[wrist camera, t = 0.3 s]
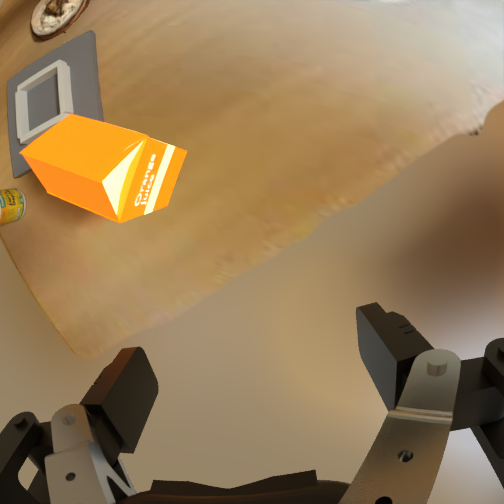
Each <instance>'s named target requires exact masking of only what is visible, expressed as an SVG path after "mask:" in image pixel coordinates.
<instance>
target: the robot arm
mask: <svg viewBox="0 0 504 504" xmlns="http://www.w3.org/2000/svg"><path fill="white" fill-rule="evenodd" d="M356 320H357V332H358V346H359V351H360V355H361V358H362V361H363V363H364V364H365V366H366V368H367V370H368V372H369V374H370V376H371V378H372V380H373V382H374V384H375V386H376V388H377V390H378V392H379V394H380V396H381V398H382V400H383V402H384V403H385V405H386V407H387V409H388V411H389V412H388V414H387V416H386V418H385V421H384V423H383V425H382V427H381V429H380V431H379V433H378V435H377V437H376V439H375V441H374V443H373V445H372V447H371V449H370V451H369V453H368V455H367V457H366V458H365V460H364V462H363V464H362V466H361V467H360V469H359V471H358V473H357V474H356V476H355V478H354V480H353V481H352V483H351V484H348V483H345V482H339V481H330V480H317V477H316V471H315V470H311V471H305V472H299V473H293V474H287V475H280V476H273V477H269V478H266V479H263V480H260V481H257V482H253V483H250V484H246V485H243V486H239V487H235V488H231V489H225V488H219V487H213V486H208V485H203V484H198V483H193V482H189V481H163V480H153V483H152V486H151V489H150V490H149V491H145V492H140V493H137V492H136V490H135V488H134V486H133V484H132V482H131V480H130V478H129V476H128V474H127V472H126V469H125V467H124V465H123V463H122V461H121V460H120V459H119V457H118V456H119V454H120V453H132V454H133V453H134V451H135V448H136V446H137V443H138V441H139V438H140V436H141V433H142V431H143V428H144V426H145V424H146V421H147V419H148V416H149V414H150V411H151V409H152V406H153V404H154V402H155V399H156V397H157V394H158V381H157V379H156V377H155V374H154V372H153V370H152V367H151V365H150V363H149V361H148V359H147V356H146V354H145V352H144V350H143V349H142V348H141V347H132V348H124V349H121V351H120V352H119V353H118V355H117V356H116V358H115V359H114V360H113V362H112V363H111V364H109V365H108V366H107V367H105V368H104V369H103V371H102V372H101V374H100V375H99V377H98V378H97V379H96V381H95V382H94V385H92V386H91V388H90V389H89V391H88V392H87V393H86V395H85V396H84V398H83V399H82V401H81V402H80V404H70V405H67V406H65V407H63V408H61V409H59V410H58V411H57V412H56V413H55V414H54V415H53V417H52V419H51V421H50V422H43V423H39V421H38V420H37V418H36V417H35V415H34V414H33V413H31V412H22V413H20V414H18V415H16V416H15V417H13V418H12V419H11V420H10V421H9V423H8V424H7V425H6V427H5V428H4V429H3V431H2V432H1V433H0V504H427V501H428V499H429V496H430V493H431V490H432V488H433V485H434V482H435V479H436V476H437V473H438V470H439V467H440V464H441V461H442V458H443V454H444V451H445V447H446V444H447V440H448V436H449V432H450V431H455V430H460V429H466V428H471V430H472V432H473V433H474V435H475V437H476V439H477V440H478V442H479V444H480V445H481V447H482V449H483V451H484V453H485V454H486V456H487V458H488V460H489V461H490V463H491V465H492V467H493V469H494V471H495V473H496V475H497V476H498V478H499V480H500V482H501V484H502V486H503V488H504V338H499V339H495V340H493V341H491V342H490V343H489V344H488V345H487V347H486V349H485V354H484V357H480V358H474V359H468V360H460V359H459V357H458V356H457V355H456V354H455V353H453V352H451V351H448V350H444V349H434V348H433V347H432V346H431V345H430V344H429V342H428V341H427V340H425V338H424V337H423V336H422V335H421V334H420V333H419V332H418V331H416V328H415V327H414V326H412V325H411V323H410V322H409V321H408V320H407V319H406V318H405V317H404V316H402V315H400V314H398V313H395V312H389V313H386V312H385V311H384V310H383V309H382V307H381V306H380V305H379V304H378V303H377V302H375V303H371V304H367V305H364V306H360V307H357V308H356ZM27 457H28V458H29V459H30V460H31V461H32V462H33V463H34V465H35V466H36V467H37V468H38V469H39V470H38V472H37V474H36V476H35V477H34V479H33V481H32V483H31V485H30V487H29V489H28V490H26V489H25V488H24V487H23V486H22V485H21V484H20V482H19V480H18V472H19V470H20V468H21V466H22V465H23V463H24V462H25V460H26V458H27Z"/></svg>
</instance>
